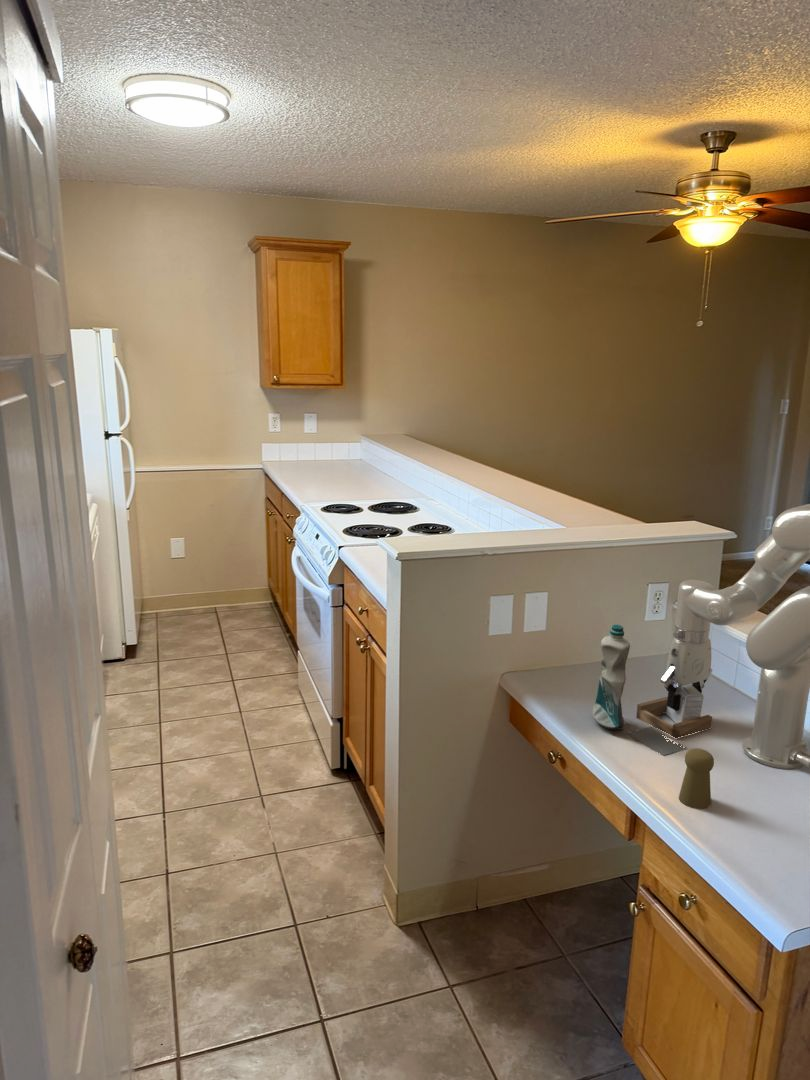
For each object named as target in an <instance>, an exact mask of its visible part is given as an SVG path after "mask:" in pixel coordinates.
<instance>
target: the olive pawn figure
mask: <svg viewBox="0 0 810 1080" xmlns="http://www.w3.org/2000/svg"><path fill="white" fill-rule="evenodd" d="M684 763H685V766H686V769H685V772H684V776H683V780H682V783H681V787H680V791H679V795H678V801H679V802H680V803H681V804H683V805H684V806H686V807H688V808H690V809H695V810H705V809H707V808H710V807H711V805H712V797H711V794H712V793H711V771H712V770H713V768H714V764H715V759H714V757H713V754H712V753H710V751H708V750H705V749H703V748H691V749H689V750H688V751H687V752H686V753H685V755H684Z"/></svg>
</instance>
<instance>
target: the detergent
mask: <svg viewBox="0 0 810 1080" xmlns="http://www.w3.org/2000/svg"><path fill="white" fill-rule="evenodd" d="M624 635H625V631H624V626H622V625H620V624H612V626H611V629H610V630H609V635H606V636H604V637H603V638H602V639H601V642H600V649H601V653H602V659H601V660H600V661H601V662H600V665H601V671H600V675H599V677H598V684H597V685H598V686H597V693H596V697H595V701H594V704H593V707H592V711H591V712H592V718H593V719H594V720H595V721H596V722H597V723H598V724H599V725H601V726H602V727H604V728H605V729H607V730H621V729H623V727H624V726H625V718H624V717H623V709H622V708H623V707H622V701H621V700H622V696H623V692H624V688H625V684H626V680H627V679H626V678H627V677H626V664H627V660H628V656H629V653H630V652H629V651H630V648H631V643H630V641H629V640H627V639H626V638H624Z"/></svg>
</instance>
